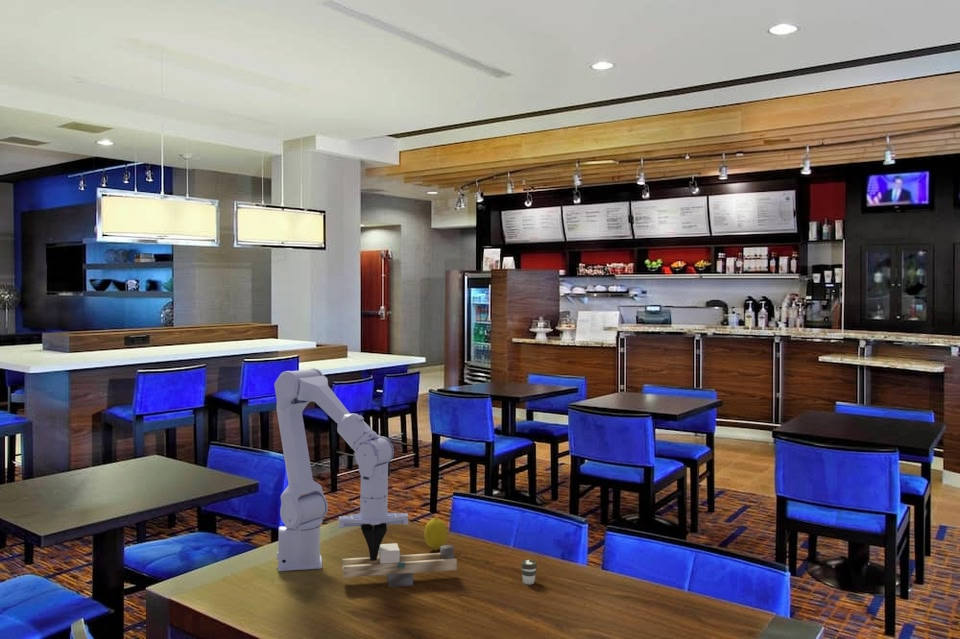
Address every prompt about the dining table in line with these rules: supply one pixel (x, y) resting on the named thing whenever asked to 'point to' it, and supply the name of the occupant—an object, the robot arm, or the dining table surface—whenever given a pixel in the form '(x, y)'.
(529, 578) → the coffee cup
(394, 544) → the rider
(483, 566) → the dining table surface
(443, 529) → the lemon
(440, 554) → the beam
